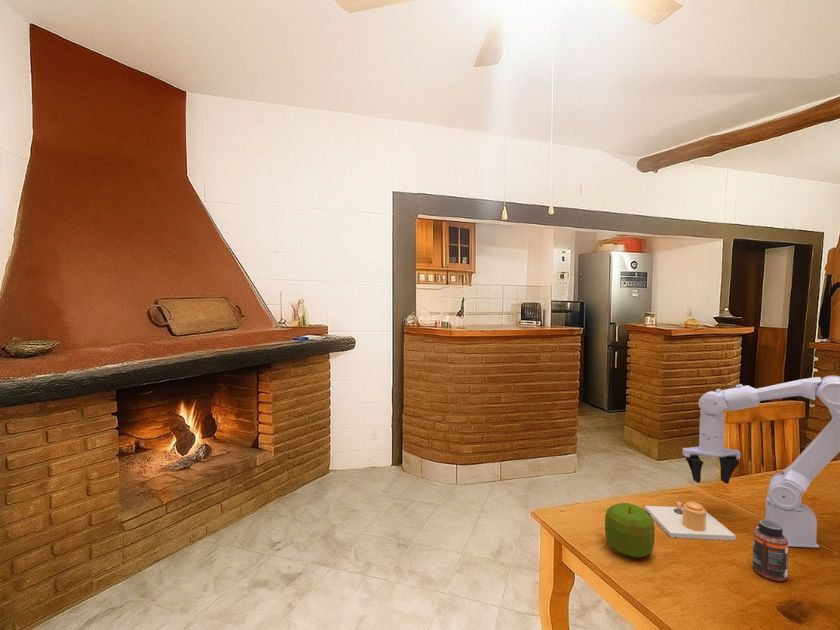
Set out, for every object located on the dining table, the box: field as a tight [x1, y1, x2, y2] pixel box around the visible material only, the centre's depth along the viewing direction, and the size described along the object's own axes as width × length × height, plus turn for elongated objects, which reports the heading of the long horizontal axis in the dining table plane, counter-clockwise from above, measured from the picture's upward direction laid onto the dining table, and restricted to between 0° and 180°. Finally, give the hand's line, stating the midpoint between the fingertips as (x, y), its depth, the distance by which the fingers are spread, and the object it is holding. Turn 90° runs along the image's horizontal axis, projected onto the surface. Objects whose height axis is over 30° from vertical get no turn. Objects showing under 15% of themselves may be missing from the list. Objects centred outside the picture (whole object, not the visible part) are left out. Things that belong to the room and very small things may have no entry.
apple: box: [604, 502, 655, 559], centre depth 99 cm, size 11×11×11 cm
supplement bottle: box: [752, 519, 789, 582], centre depth 90 cm, size 6×6×11 cm
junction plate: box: [644, 500, 737, 541], centre depth 111 cm, size 16×14×4 cm
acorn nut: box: [682, 500, 707, 531], centre depth 107 cm, size 5×5×6 cm
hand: (710, 481), depth 115 cm, fingers open, 7 cm apart
